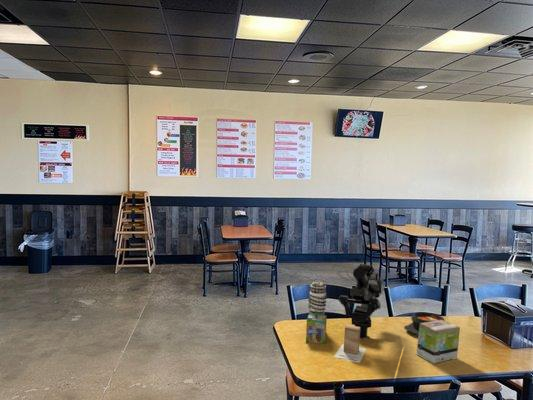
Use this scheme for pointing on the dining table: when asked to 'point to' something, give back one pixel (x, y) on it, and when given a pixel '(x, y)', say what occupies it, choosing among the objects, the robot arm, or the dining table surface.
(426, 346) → the tea box
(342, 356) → the board
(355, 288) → the robot arm
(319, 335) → the chalk box
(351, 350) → the block
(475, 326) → the dining table surface
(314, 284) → the leaning tower model
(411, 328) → the casserole
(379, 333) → the dining table surface
